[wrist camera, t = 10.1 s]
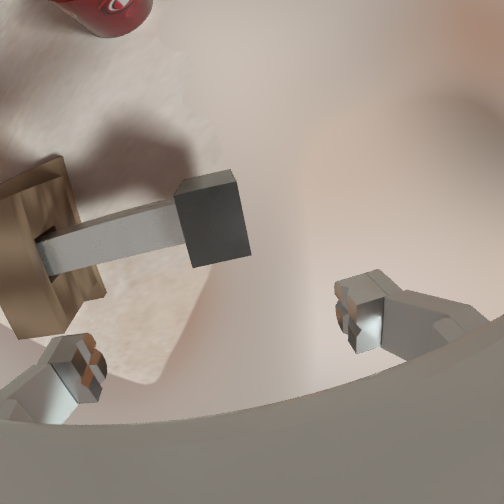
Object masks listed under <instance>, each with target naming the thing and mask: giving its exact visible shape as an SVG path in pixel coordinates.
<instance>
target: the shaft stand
mask: <svg viewBox="0 0 504 504" xmlns="http://www.w3.org/2000/svg"><path fill="white" fill-rule="evenodd" d="M79 223H81V220H80V217H79V214H78V211H77V207H76V204H75V201H74V197H73V194H72V190H71V186H70V183H69V179H68V175H67V171H66V167H65V163H64V159H63V157H59V158H56V159H54V160H51V161H49V162H46V163H44V164H42V165H40V166H37V167H35V168H33V169H31V170H29V171H26V172H24V173H22V174H20V175H18V176H16V177H14V178H12V179H10V180H8V181H6V182H4V183H2V184H0V306H1V308H2V310H3V312H4V314H5V316H6V318H7V320H8V322H9V324H10V325H11V327H12V329H13V331H14V333H15V335H16V336H17V338H18V340H20V339H28V338H35V337H43V336H50V335H57V334H63V333H65V331H66V329H67V328H68V326H69V325H70V323H71V321H72V320H73V318H74V317H75V315H76V313H77V312H78V310H79V309H80V307H81V306H82V304H83V302H84V301H89V300H94V299H99V298H104V296H105V295H106V293H107V292H106V289H105V287H104V284H103V282H102V279H101V277H100V274H99V272H98V269H97V266H96V265H92V266H88V267H84V268H80V269H76V270H72V271H68V272H64V273H60V274H56V275H53V276H49V277H48V275H47V272H46V270H45V267H44V265H43V262H42V260H41V257H40V255H39V252H38V249H37V247H36V244H35V241H34V239H35V238H36V237H39V236H42V235H45V234H48V233H51V232H54V231H57V230H60V229H64V228H67V227H70V226H73V225H76V224H79Z"/></svg>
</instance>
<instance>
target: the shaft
mask: <svg viewBox="0 0 504 504" xmlns="http://www.w3.org/2000/svg"><path fill="white" fill-rule="evenodd" d="M34 241H35V244H36V247H37V249H38V252H39V255H40V257H41V260H42V262H43V265H44V267H45V270H46V272H47V275H48V277H49V276H53V275H56V274H60V273H64V272H68V271H72V270H76V269H80V268H84V267H88V266H92V265H96V264H100V263H104V262H108V261H112V260H116V259H120V258H124V257H129V256H133V255H137V254H141V253H145V252H149V251H154V250H158V249H162V248H166V247H171V246H175V245H179V244H184V243H186V246H187V250H188V253H189V257H190V260H191V264H192V267H193V268H196V267H200V266H205V265H209V264H214V263H218V262H222V261H227V260H232V259H236V258H241V257H245V256H249V255H251V250H250V246H249V241H248V236H247V230H246V226H245V221H244V216H243V211H242V206H241V201H240V196H239V191H238V186H237V182H236V180H235V177H234V175H233V174H232V171H231V169H229V170H224V171H220V172H215V173H211V174H206V175H202V176H198V177H193V178H189V179H185V180H183V181H182V183H181V185H180V186H179V188H178V189H177V191H176V192H175V194H174V195H173V198H169V199H165V200H161V201H157V202H153V203H149V204H145V205H142V206H138V207H134V208H131V209H127V210H123V211H120V212H116V213H113V214H109V215H106V216H103V217H99V218H96V219H92V220H89V221H86V222H83V223H79V224H76V225H73V226H70V227H67V228H64V229H60V230H57V231H54V232H51V233H48V234H45V235H42V236H39V237H36V238H35V239H34Z"/></svg>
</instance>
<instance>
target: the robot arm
mask: <svg viewBox="0 0 504 504" xmlns="http://www.w3.org/2000/svg"><path fill="white" fill-rule="evenodd" d="M334 288H335V295H336V296H337V298H338V299H339V300H338V302H337V304H336V316H337V320H338V324H339V326H340V328H341V330H342V332H343V333H345V334H348V342H349V343H350V345H351V346H352V348H353V349H354V351H355V353H356V354H358V353H362V352H365V351H369V350H372V349H375V348H378V347H381V348H383V349H385V350H387V351H389V352H391V353H393V354H395V355H397V356H399V357H401V358H402V359H404V360H406V361H407V362H404V363H402V364H399V365H397V366H394V367H392V368H389V369H386V370H384V371H381V372H378V373H375V374H373V375H370V376H367V377H364V378H361V379H358V380H355V381H352V382H349V383H346V384H343V385H340V386H336V387H333V388H330V389H326V390H323V391H319V392H316V393H313V394H309V395H305V396H301V397H297V398H293V399H290V400H285V401H281V402H277V403H273V404H268V405H264V406H259V407H254V408H249V409H244V410H239V411H233V412H228V413H222V414H216V415H209V416H202V417H196V418H188V419H180V420H171V421H160V422H149V423H136V424H135V423H134V424H112V425H65V424H63V422H64V421H65V420H66V419H67V418H68V416H69V415H70V414H71V413H72V412H73V410H74V409H75V408H76V407H77V406H78V404H80V403H95V402H98V401H99V397H100V394H101V391H102V387H101V385H100V384H101V383H102V382H103V381H104V380H105V379H106V375H107V364H106V361H105V358H104V356H103V354H102V353H101V352H100V351H98V350H97V349H95V347H96V342H95V340H94V338H93V336H92V335H91V334H89V333H83V334H75V335H67V336H59V337H55V338H52V339H51V341H50V343H49V344H48V346H47V348H46V349H45V351H44V353H43V354H42V356H41V358H40V359H39V361H38V363H37V364H36V365H33V366H31V367H30V368H29V369H28V370H26V371H25V372H23V373H22V374H21V375H19V376H18V377H17V378H16V379H14V380H13V381H12V382H10V383H9V384H8V385H6V386H5V387H4V388H3V389H1V390H0V504H504V314H503V315H502V316H500V317H498V318H496V319H495V320H493V321H491V322H490V321H489V320H487V319H486V318H485V317H484V316H483V315H481V314H480V313H479V312H478V311H477V310H476V309H474V308H473V307H472V306H471V305H467V304H463V303H459V302H455V301H450V300H447V299H443V298H439V297H435V296H431V295H427V294H422V293H418V292H414V291H410V290H405V291H403V290H402V289H401V288H399V287H398V286H397V285H396V284H395V283H394V282H393V281H392V280H391V279H390V278H389V277H387V276H386V275H385V274H384V273H383V272H382V271H381V270H378V269H376V270H373V271H370V272H367V273H364V274H360V275H357V276H354V277H350V278H347V279H343V280H340V281H337V282H335V286H334Z"/></svg>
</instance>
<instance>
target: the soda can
mask: <svg viewBox="0 0 504 504" xmlns="http://www.w3.org/2000/svg"><path fill="white" fill-rule="evenodd" d="M48 1H50V2H51V3H53V4H54V5H55V6H57V7H58V8H60V9H61V10H62V11H64V12H65V13H67V14H68V15H69V16H71V17H72V18H73V19H75V20H76V21H77V22H79V23H80V24H81V25H83V26H84V27H85V28H87V29H88V30H89V31H90V32H92V33H93V34H95V35H97V36H99V37H103V38H116V37H119V36H123V35H125V34H128V33H130V32H131V31H133V30H135V29H136V28H137V27H139V26H140V25H141V24H142V23H143V22H144V21H145V20H146V18H147V17H148V15H149V14H150V11H151V9H152V5H153V0H48Z"/></svg>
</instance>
